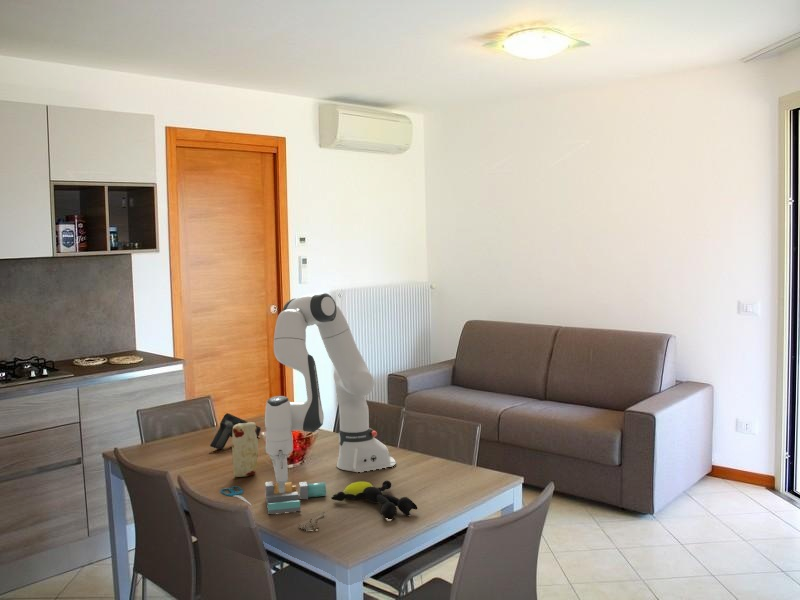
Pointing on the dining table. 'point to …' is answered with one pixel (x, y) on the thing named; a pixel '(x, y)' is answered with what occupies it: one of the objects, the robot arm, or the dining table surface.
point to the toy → (377, 498)
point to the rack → (283, 502)
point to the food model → (244, 449)
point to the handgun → (227, 430)
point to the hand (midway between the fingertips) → (280, 487)
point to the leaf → (311, 525)
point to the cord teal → (311, 490)
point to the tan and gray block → (276, 488)
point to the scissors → (235, 493)
